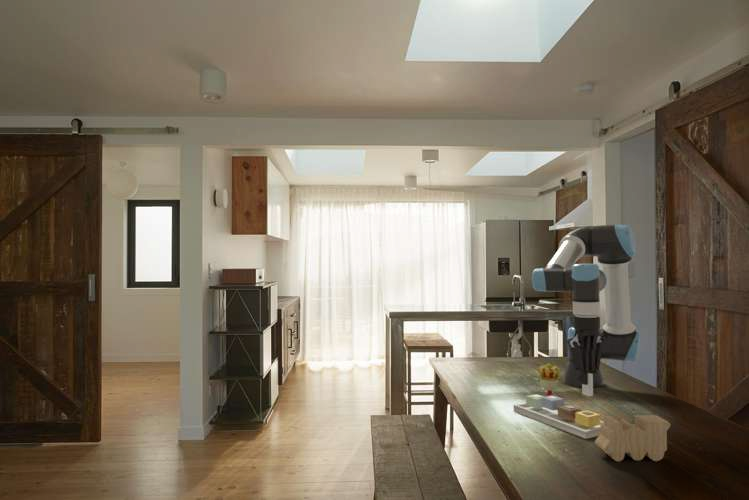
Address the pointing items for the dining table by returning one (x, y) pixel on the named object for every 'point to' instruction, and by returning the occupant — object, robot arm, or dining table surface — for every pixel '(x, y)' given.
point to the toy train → (634, 437)
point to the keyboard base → (558, 421)
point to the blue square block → (551, 402)
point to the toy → (549, 378)
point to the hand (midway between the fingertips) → (587, 394)
